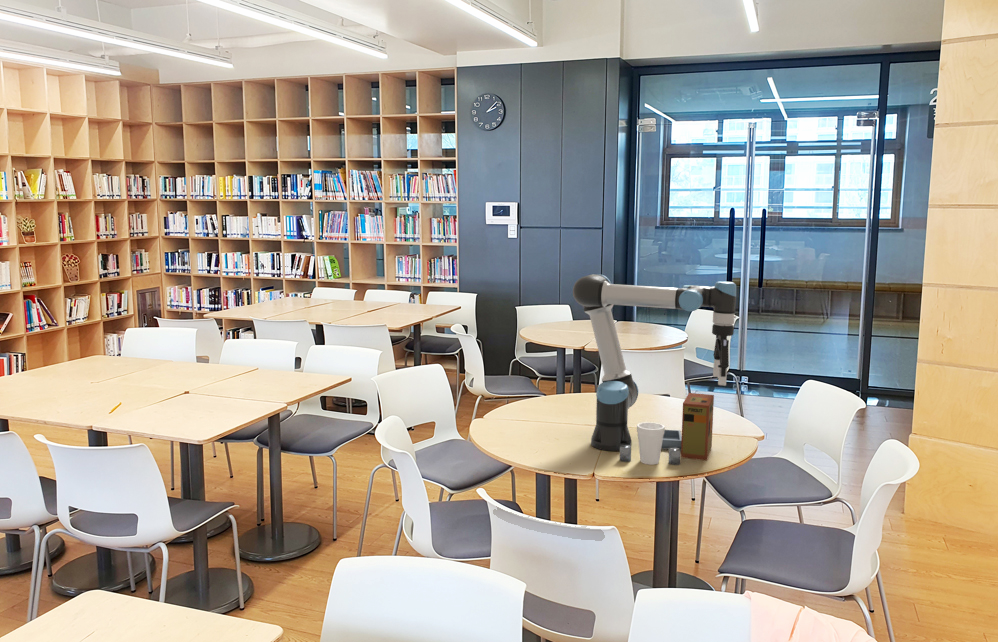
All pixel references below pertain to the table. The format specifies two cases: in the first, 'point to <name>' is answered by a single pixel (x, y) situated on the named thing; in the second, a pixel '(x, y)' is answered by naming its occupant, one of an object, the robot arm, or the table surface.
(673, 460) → the shiny gray cylinder
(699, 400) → the box
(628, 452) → the metal cylinder
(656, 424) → the foam cup
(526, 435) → the table surface
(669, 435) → the tray
